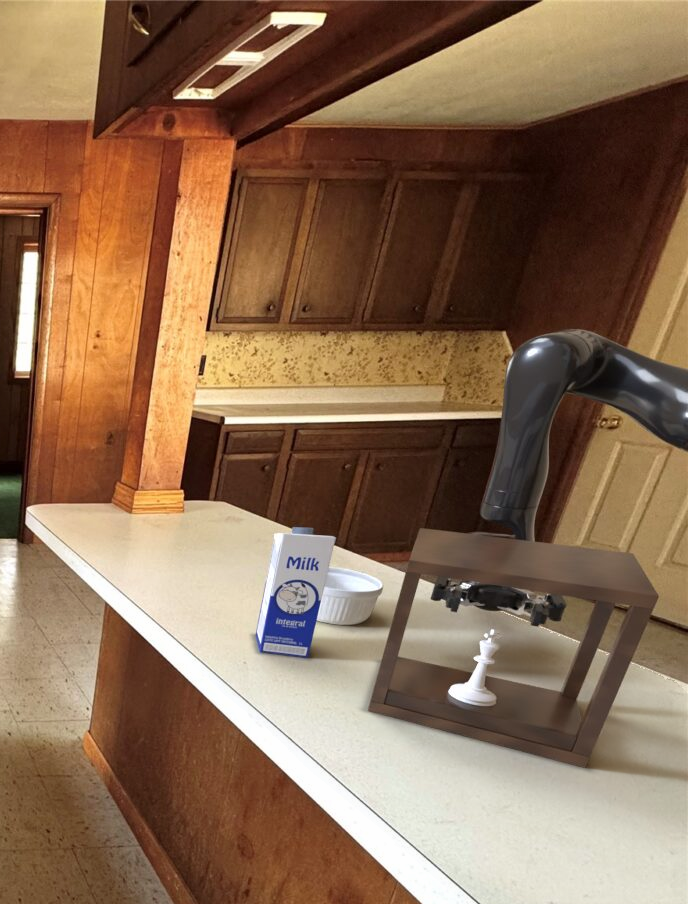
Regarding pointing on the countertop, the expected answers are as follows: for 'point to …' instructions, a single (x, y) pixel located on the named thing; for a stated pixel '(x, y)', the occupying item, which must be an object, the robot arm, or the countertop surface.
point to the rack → (517, 705)
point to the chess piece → (479, 676)
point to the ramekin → (348, 597)
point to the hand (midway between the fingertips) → (495, 612)
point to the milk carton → (293, 592)
